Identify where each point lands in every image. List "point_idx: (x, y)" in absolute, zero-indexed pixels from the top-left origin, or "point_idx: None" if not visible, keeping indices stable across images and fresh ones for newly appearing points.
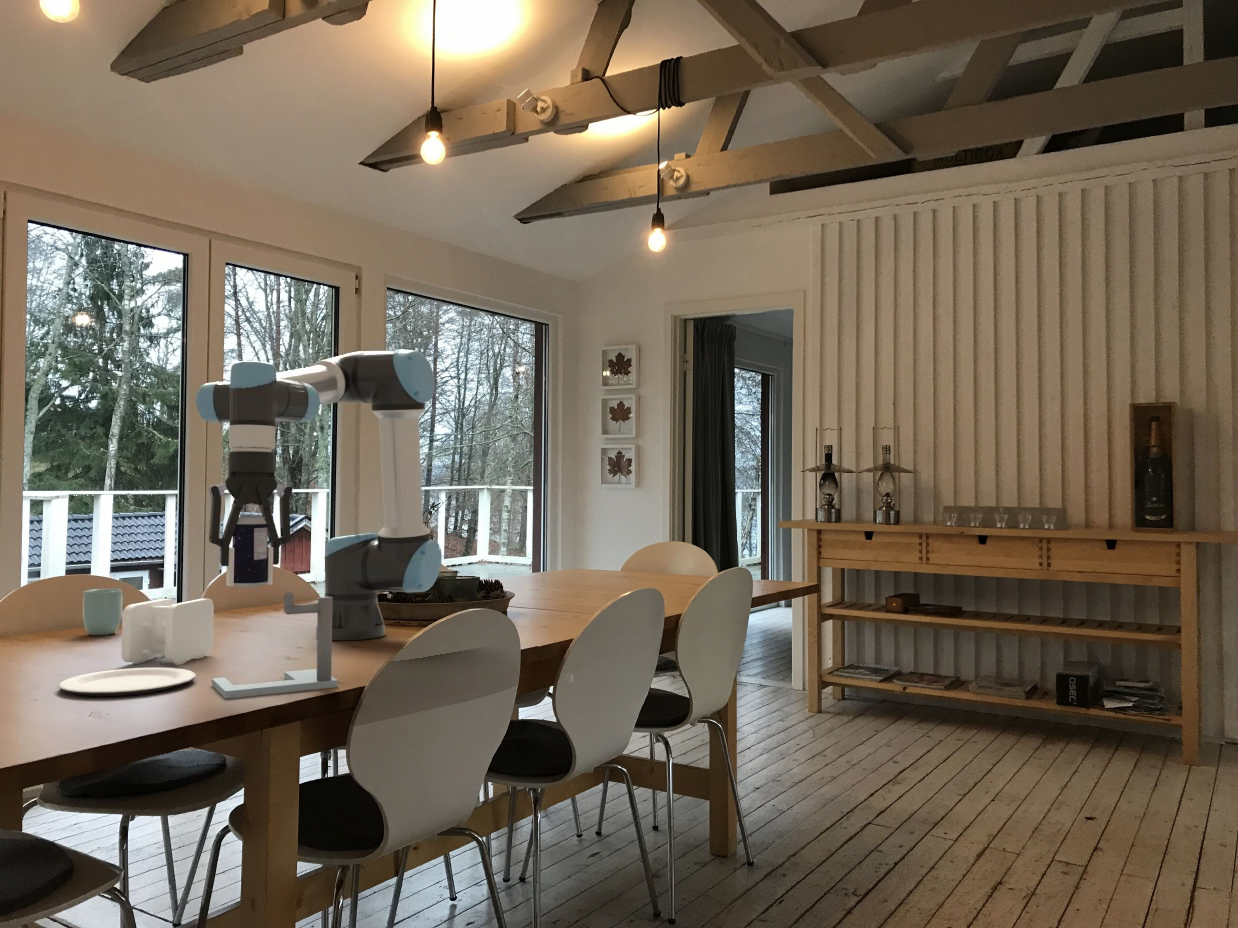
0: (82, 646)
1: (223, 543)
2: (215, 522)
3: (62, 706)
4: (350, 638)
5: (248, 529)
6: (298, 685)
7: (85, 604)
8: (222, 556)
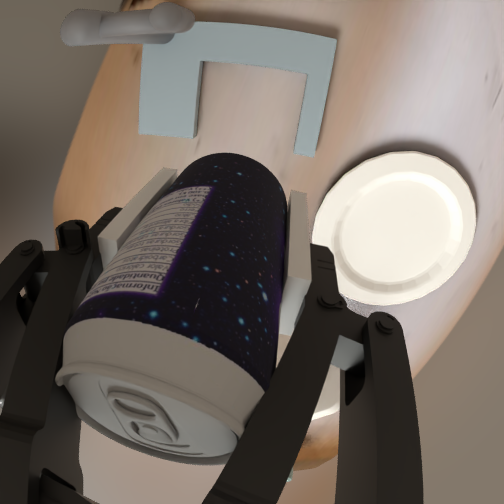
0: (316, 424)
1: (342, 305)
2: (402, 414)
3: (499, 166)
4: None
5: (201, 301)
6: (211, 22)
7: (292, 469)
8: (332, 273)
